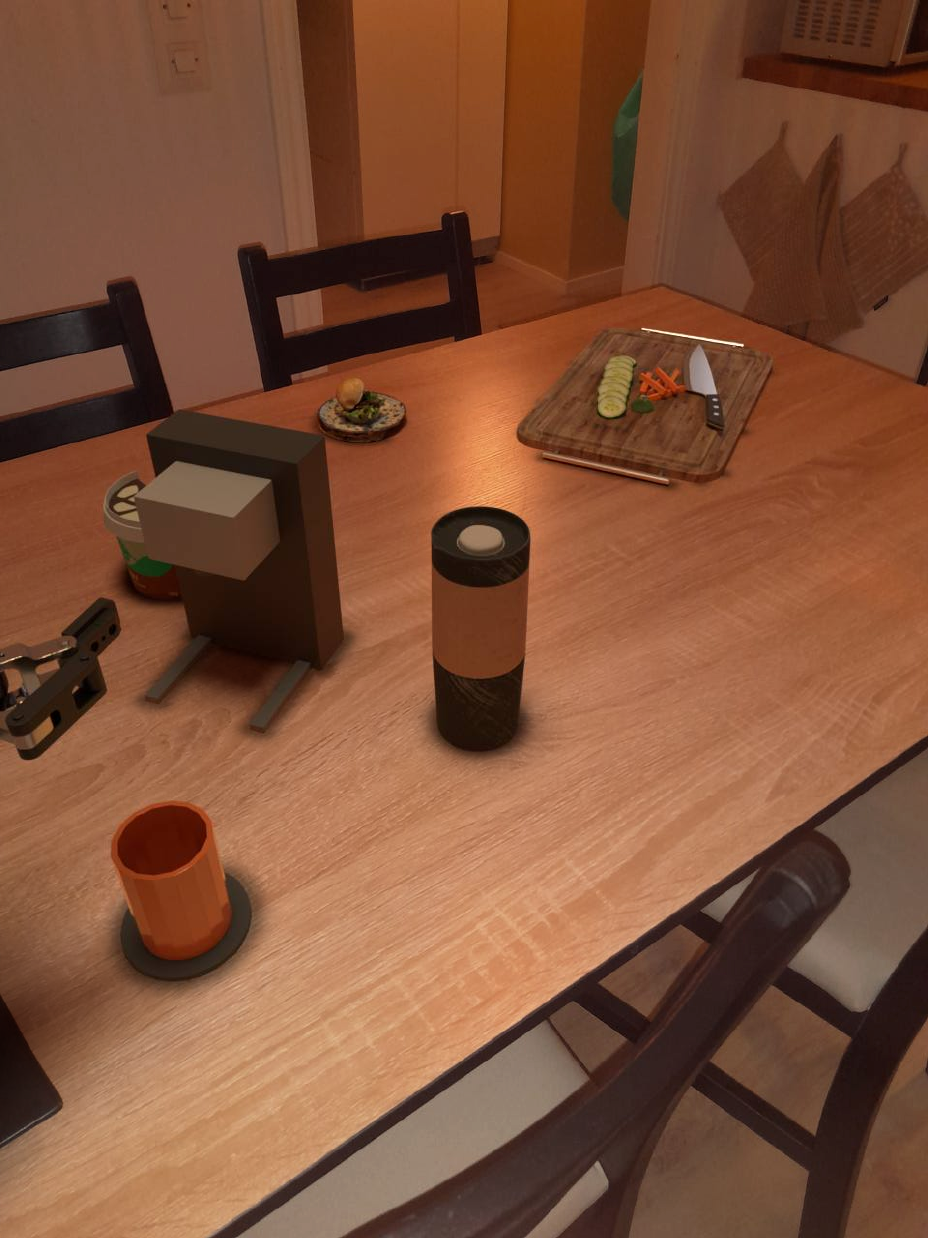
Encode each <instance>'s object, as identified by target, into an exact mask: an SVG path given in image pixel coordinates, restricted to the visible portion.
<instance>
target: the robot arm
mask: <svg viewBox="0 0 928 1238" xmlns="http://www.w3.org/2000/svg"><path fill="white" fill-rule="evenodd" d="M121 632H122V627H121V619H120V615H119V612H118V608H117V604H116V602H115V600H113V599H110V598H105V597H98V598H97V599H96V600H95V601H94V602H92V603H91V605H89V606H88V607H87V608H86V609H85V610H84V611H83V612H82V613H81V614H80V615H79V616H77V617H76V619H74V620H73V621H72V622H71V623H70V624H69V625H68V626H66V627H65V629H63V630H62V631H61V632H60V634H61V636H59V637H56V638H53V639H50V640H47V641H44V642H41V643H38V644H35V645H33V646H29V645H26V644H24V643H21V642H20V643H19V642H18V643H14V644H11V645H8V646H4V647H2V648H0V740H1V741H4V742H7V743H9V744H12V745H14V746H15V749H16V751H17V754H18V756H19V758H20V759H21V760H23V761H33V760H36V759H39V758H40V757H41V756H42V755H43V754H44V753H45V752H46V751H47V750H49V748H51V747H52V746H53V745H54V744H55V743H56V742H57V741H58V740H59V739H60V738H62V736H63V735H65V734H66V732H68V730H69V729H71V728H72V727H73V726H74V725H75V724H76V723H77V722H78V721H79V720H80V719H81V718H83V716H84V715H85V714H86V713H87V712H89V710H90V709H92V708H93V707H94V706H95V705H96V704H97V703H98V702H99V701H100V700H101V699H102V698H103V697H104V696H105V695H106V694H107V692H108V687H107V684H106V681H105V678H104V675H103V671H102V668H101V664H100V661H99V656H100V655H101V654H102V653H103V652H104V651H106V649H108V647H109V646H110V645H111V644H113V642H115V641H116V639H117V638H118V637H119V636H120V634H121ZM55 661H57V664H58V666H59V667H58V668H55V669H52V670H49V671H47V672H43V673H40V674H39V673H37V669H39V667H41V666H43V665H46V664H49V663H52V662H55ZM8 670H16V671H18V672H19V676H20V679H21V681H22V684H21V685H20V687H19V688H17V689H16V690H12V691H10V692H9V687H10V685H9V678H8V676H7V673H6V671H8ZM76 687H78V688H77V689H76V690H75V691H74V689H75V688H76Z"/></svg>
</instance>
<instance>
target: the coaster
mask: <svg viewBox="0 0 928 1238" xmlns="http://www.w3.org/2000/svg"><path fill="white" fill-rule="evenodd" d="M224 874H225V878H226V882H227V886H228V891H229V895H230V900H231V906H232V920H231V923H230V926H229V928H228V931H227V932H226V934H225V935H224V937H223V938H222V939H221V940H220V941H219V942H218V943H217V945H215V946H214V947H213V948H212V949H210V950H209V951H207V952H205V953H203V954H202V955H199V956H197V957H194V958H191V959H186V960H177V961H175V960H166V959H162V958H159V957H157V956H155V955H153V954H152V953H151V952H149V951H148V950H147V949H146V947H145V946H144V945H143V943H142V941H141V938H140V936H139V934H138V932H137V929H136V926H135V923H134V921H133V918H132V915H131V912H130V909H129V907H128V906H127V907H128V908H127V910H126V911H125V913H124V916H123V918H122V922H121V925H120V933H119V934H120V945H121V947H122V951H123V953H124V956H125V957H126V959H127V961H128V962H129V964H130V965H131V966H132V967H133V968H134V969H135V970H136V971H138V972H139V973H140V974H142V975H144V976H146V977H148V978H150V979H151V978H152V979H155V980H157V981H158V980H159V981H163V982H181V981H187V980H188V981H189V980H192V979H195V978H199V977H202V976H204V975H207V974H210V973H211V972H213V971H214V970H216V969H218V968H219V967H221V966H223V965H224V964H225V963H226V962H228V961H229V960H230V959H231V958H232V957H233V956H234V955H235V954H236V953H237V952H238V950H239V949H240V948H241V946H242V945H243V943H244V941H246V940H245V939H246V938H247V936H248V934H249V930H250V927H251V923H252V905H251V902H250V901H251V900H250V897H249V895H248V892H247V891H246V889H245V888H244V886H243V885H242V884H241V882H239V881H238V880H237V879H236V878H235V877H233V876H232V875H230V874H229V873H227V872H224Z"/></svg>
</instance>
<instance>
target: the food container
mask: <svg viewBox="0 0 928 1238" xmlns="http://www.w3.org/2000/svg"><path fill="white" fill-rule="evenodd" d="M145 486H147V484H146V483H144V482H143V481H141V480H140V476H139V472H138V470H137V469H135V470H133V471H132V472H129V473H127V474H125V475H123V476H122V477H120V478H118V479H117V480H116V481H115V482H113V483H112V484H111V485H110V487H108V489H107V491H106V492H105V496H104V499H103V504H102V514H103V515H102V518H103V524H104V526H105V528H106V529H107V531H109V532H110V533H111V534H112V535H114V536H116V540H117V543H118V546H119V548H120V551H121V554H122V557H123V559H124V562H125V564H126V567H127V571H128V573H129V577H130V579H131V581H132V584H133V587H134V589H135V590H136V591H137V592H138V593H140V594H141V595H142V596H145V597H146V598H150V599H152V600H159V601H176V600H183V599H182V594H181V590H180V586H179V581H178V577H177V572H176V568H175V565H174V564H170V563H166V562H161V561H157V560H153V559H149V558H148V554H147V549H146V545H145V541H144V537H143V533H142V529H141V525H140V521H139V516H138V512H137V508H136V504H135V500H134V496H135V495H136V494H137V493H138V492H139V491H141V490H142V489H143V488H144V487H145Z"/></svg>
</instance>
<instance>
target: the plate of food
mask: <svg viewBox="0 0 928 1238" xmlns="http://www.w3.org/2000/svg"><path fill="white" fill-rule="evenodd" d="M337 374H338V376H339V378H340V379H341V380H342V382H341V383H339V384H338V386H337V388H336V392H335V397H332V398H330V399H328V400H326V401H324V402H323V403H322V404H321V405H320V407H319V408H318V411H317V414H316V415H317V426H318V428H319V430H320V431H321V432H322V433H323V434H324V435H326V436H328V437H330V438H332V439H336V440H339V441H343V442H350V443H370V442H372V441H375V442H377V441H382V440H383V438H384V436H385V433H386V431H388V430H390V429H392V428H394V427H397V426H398V425H399V424H400V422H401V421H402V420H403V419H404V418H405V416H406V414H407V408H406V405H405V403H403V401H400V400H399V399H397V398H396V397H394V396H391V395H388V394H386V393H382V392H379V391H378V392H377V391H373V390H372V391H371V390H370V389H365V386H364V382H363V380H362V379H360V378H355V377H354V378H348V379H345V380H343V378H342V377H341V375H340V373H339V371H337Z"/></svg>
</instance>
